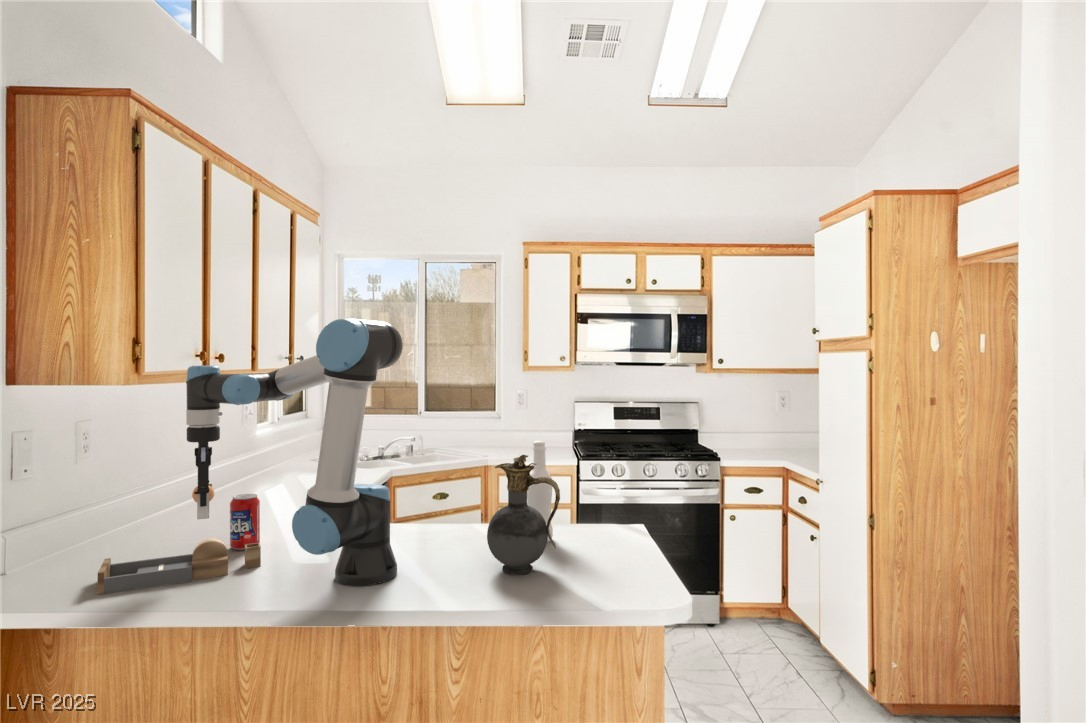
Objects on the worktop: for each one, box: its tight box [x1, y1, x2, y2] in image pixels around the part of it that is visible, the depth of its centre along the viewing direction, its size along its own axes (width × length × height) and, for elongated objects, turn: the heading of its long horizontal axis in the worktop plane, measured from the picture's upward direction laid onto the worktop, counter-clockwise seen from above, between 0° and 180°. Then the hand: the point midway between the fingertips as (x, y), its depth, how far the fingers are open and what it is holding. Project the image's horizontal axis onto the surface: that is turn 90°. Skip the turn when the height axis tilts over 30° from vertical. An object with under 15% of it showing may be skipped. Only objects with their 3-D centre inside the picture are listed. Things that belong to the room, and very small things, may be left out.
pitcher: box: [486, 454, 561, 575], centre depth 164 cm, size 11×19×30 cm, turn 76°
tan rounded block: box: [192, 537, 229, 581], centre depth 163 cm, size 10×8×8 cm
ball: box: [191, 485, 215, 503], centre depth 163 cm, size 5×5×5 cm
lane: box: [103, 553, 193, 595], centre depth 157 cm, size 12×18×4 cm, turn 118°
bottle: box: [527, 440, 554, 544], centre depth 191 cm, size 8×8×30 cm
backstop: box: [97, 557, 112, 595], centre depth 153 cm, size 12×1×5 cm, turn 28°
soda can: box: [229, 493, 261, 551], centre depth 184 cm, size 8×8×15 cm
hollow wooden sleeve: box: [244, 542, 262, 569], centre depth 168 cm, size 4×4×5 cm
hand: (203, 515), depth 163 cm, fingers closed on ball, 5 cm apart
